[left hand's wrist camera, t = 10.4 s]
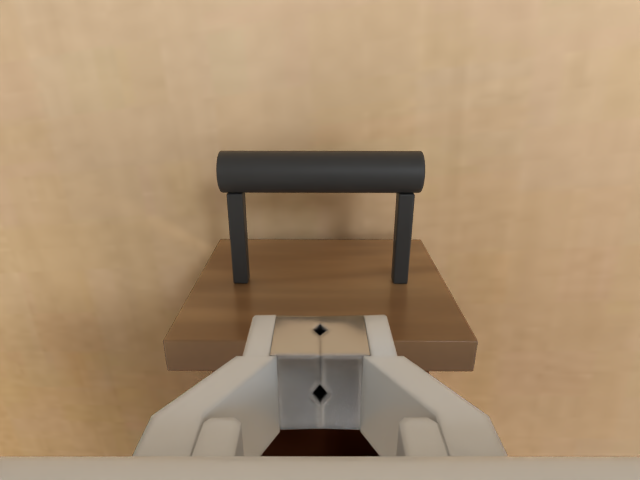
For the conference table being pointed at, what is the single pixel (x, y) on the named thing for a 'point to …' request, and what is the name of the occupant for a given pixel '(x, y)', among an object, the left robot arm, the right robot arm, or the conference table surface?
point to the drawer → (320, 277)
